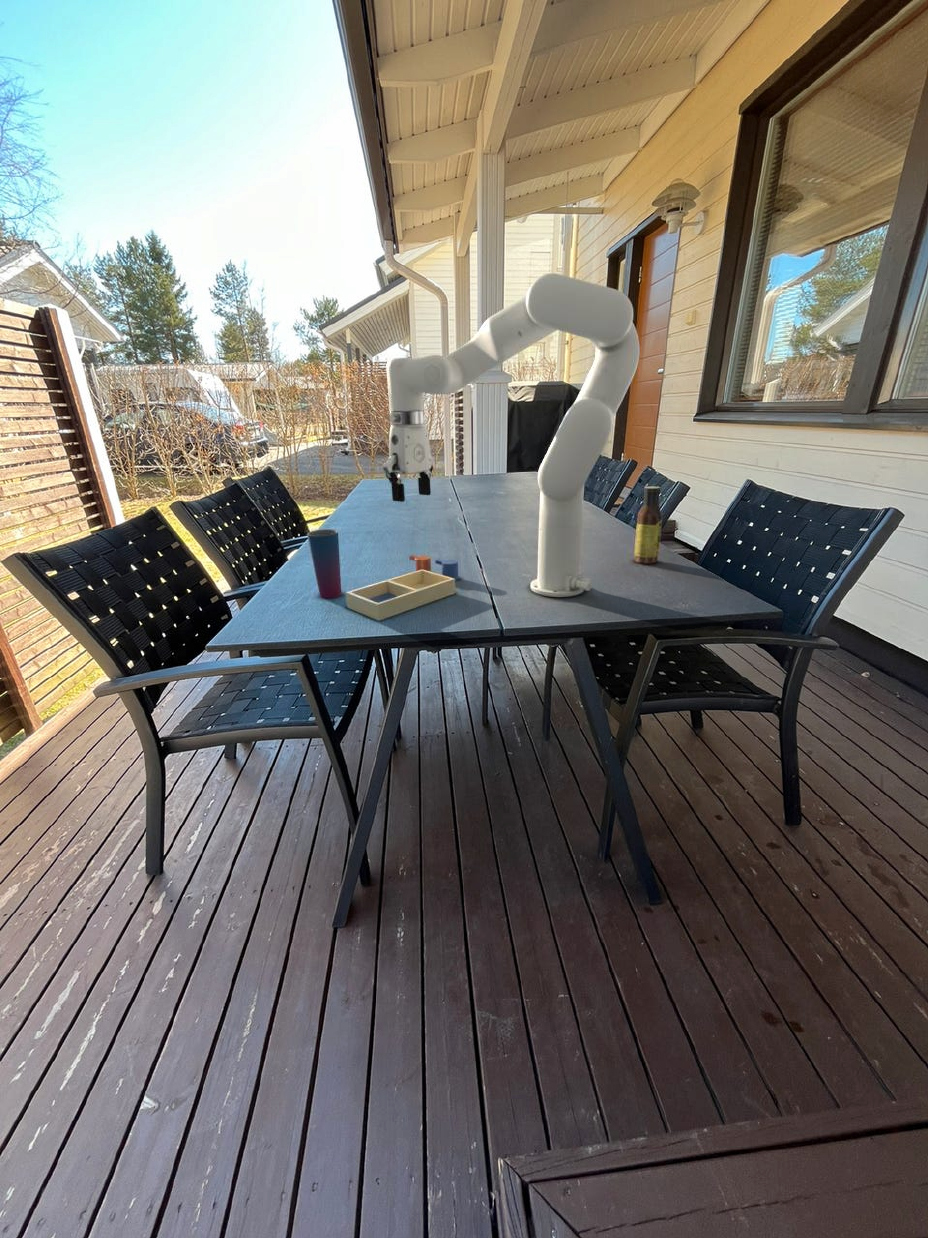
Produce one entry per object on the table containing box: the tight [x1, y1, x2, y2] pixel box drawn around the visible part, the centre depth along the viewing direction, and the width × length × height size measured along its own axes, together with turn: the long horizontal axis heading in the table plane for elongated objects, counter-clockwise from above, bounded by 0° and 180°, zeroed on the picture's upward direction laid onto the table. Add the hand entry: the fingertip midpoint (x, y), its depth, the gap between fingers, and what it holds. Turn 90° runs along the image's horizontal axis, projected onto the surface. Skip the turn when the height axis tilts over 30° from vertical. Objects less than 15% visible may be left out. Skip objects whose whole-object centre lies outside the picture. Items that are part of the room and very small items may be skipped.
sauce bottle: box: [633, 485, 663, 565], centre depth 139 cm, size 7×6×20 cm
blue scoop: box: [435, 558, 459, 582], centre depth 133 cm, size 7×4×4 cm, turn 45°
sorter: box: [345, 569, 457, 622], centre depth 119 cm, size 12×22×4 cm, turn 135°
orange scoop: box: [408, 554, 432, 572], centre depth 137 cm, size 7×4×4 cm, turn 45°
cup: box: [306, 528, 342, 599], centre depth 121 cm, size 7×7×15 cm
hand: (412, 497), depth 123 cm, fingers open, 9 cm apart
